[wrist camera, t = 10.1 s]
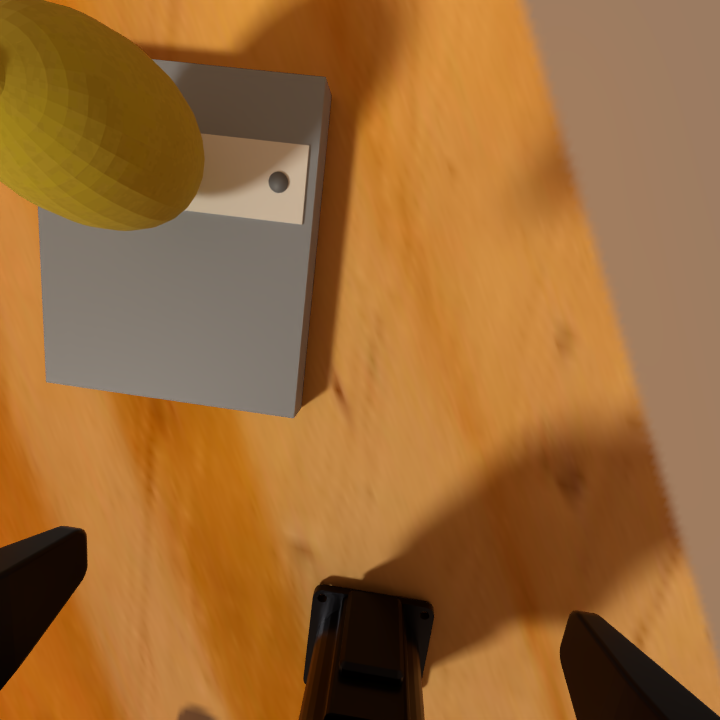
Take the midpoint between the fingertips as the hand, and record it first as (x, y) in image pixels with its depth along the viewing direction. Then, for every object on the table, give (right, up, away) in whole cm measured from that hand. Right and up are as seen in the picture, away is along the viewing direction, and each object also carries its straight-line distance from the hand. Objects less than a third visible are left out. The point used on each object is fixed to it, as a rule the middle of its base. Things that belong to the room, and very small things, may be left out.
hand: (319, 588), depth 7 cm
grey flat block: (-7, +9, +11) cm, 16 cm away
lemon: (-7, +12, +9) cm, 16 cm away
